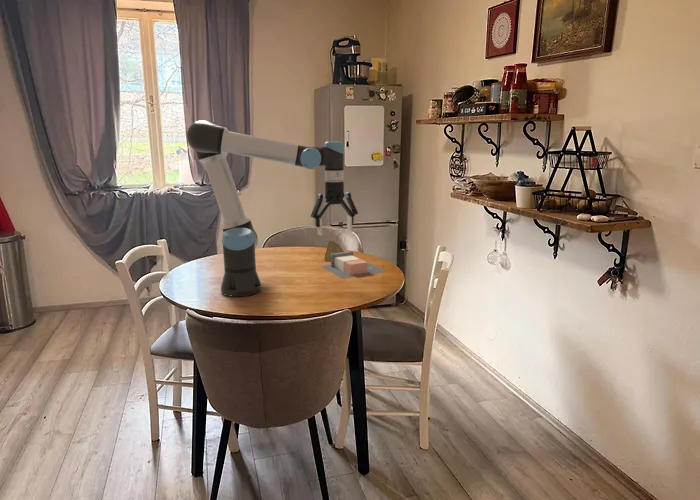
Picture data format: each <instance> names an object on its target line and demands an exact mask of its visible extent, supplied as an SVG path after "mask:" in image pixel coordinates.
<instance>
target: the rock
mask: <svg viewBox="0 0 700 500" xmlns="http://www.w3.org/2000/svg"><path fill="white" fill-rule="evenodd" d="M325 250H326V251H325V255H324V262H331V254H332V253H341V252H345V251H344V250H343V249H342V247H341V246H340V244H339V243H337V242H336V241H333V240H329V241H328V244H327V246H326V249H325Z"/></svg>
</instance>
